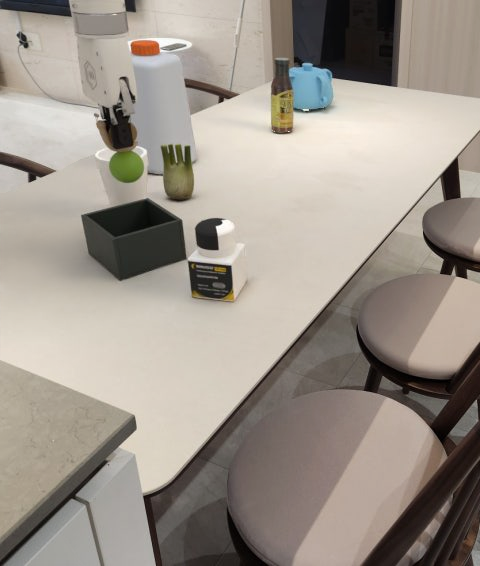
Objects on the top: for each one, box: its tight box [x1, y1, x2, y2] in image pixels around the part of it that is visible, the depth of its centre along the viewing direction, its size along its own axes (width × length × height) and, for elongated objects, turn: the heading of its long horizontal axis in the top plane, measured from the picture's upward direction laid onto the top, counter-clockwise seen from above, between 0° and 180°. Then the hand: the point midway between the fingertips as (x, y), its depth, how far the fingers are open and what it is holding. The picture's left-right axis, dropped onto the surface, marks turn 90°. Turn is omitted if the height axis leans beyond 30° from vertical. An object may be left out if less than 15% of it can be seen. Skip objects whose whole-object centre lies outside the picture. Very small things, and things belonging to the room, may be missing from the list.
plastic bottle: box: [118, 39, 198, 175], centre depth 147 cm, size 15×15×28 cm
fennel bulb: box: [161, 144, 195, 201], centre depth 133 cm, size 6×5×12 cm
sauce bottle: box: [270, 57, 294, 133], centre depth 176 cm, size 7×6×20 cm
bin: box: [80, 197, 188, 281], centre depth 111 cm, size 12×12×8 cm
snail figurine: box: [93, 112, 144, 183], centre depth 103 cm, size 5×6×12 cm
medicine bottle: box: [187, 217, 248, 303], centre depth 102 cm, size 7×7×12 cm
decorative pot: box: [289, 62, 334, 110], centre depth 201 cm, size 16×16×14 cm
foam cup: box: [94, 146, 149, 207], centre depth 124 cm, size 10×9×13 cm
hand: (120, 144), depth 103 cm, fingers closed on snail figurine
